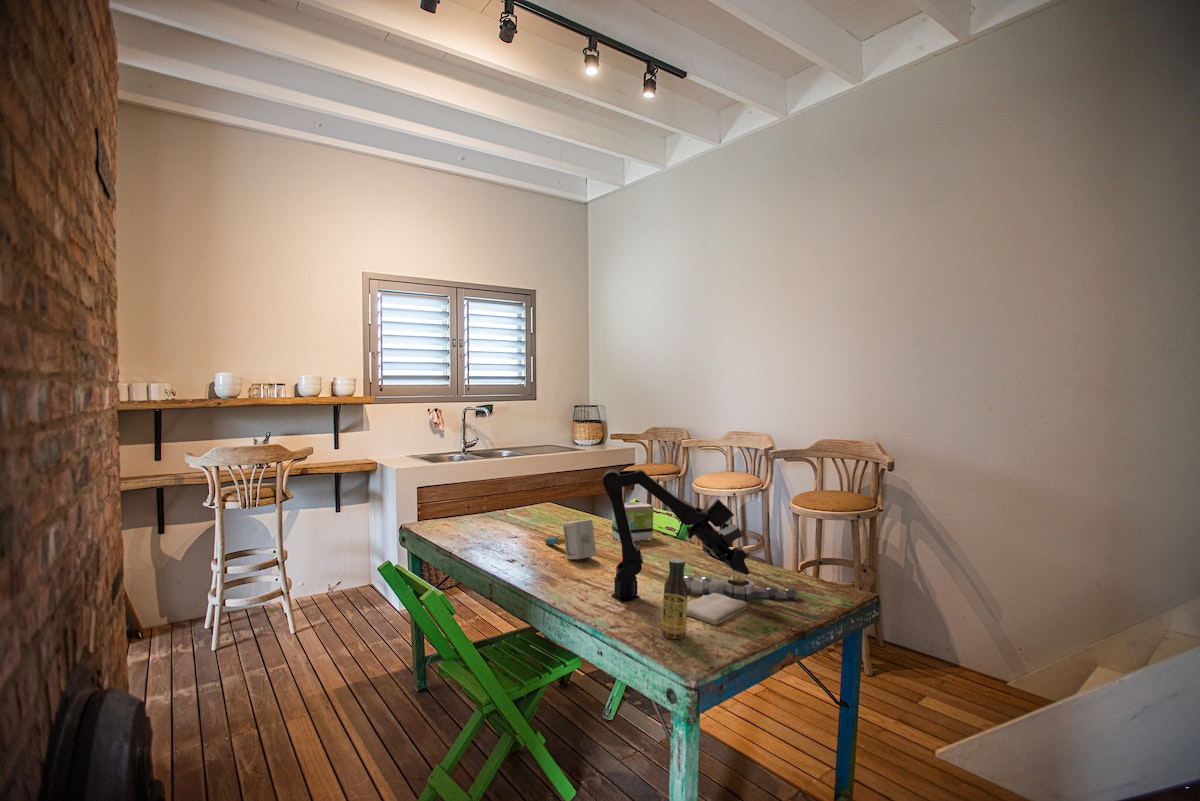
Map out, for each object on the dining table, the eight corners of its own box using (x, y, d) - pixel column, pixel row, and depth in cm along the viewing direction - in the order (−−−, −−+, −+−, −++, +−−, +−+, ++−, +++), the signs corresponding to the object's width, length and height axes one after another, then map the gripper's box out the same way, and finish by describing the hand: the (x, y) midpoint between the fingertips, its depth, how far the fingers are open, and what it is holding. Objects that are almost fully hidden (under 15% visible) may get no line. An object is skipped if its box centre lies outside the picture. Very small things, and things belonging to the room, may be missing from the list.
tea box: (620, 543, 241) (620, 507, 240) (611, 537, 250) (611, 503, 250) (653, 540, 246) (653, 505, 246) (643, 534, 256) (643, 500, 255)
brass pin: (738, 598, 179) (738, 556, 179) (727, 594, 183) (728, 553, 182) (748, 595, 182) (748, 554, 181) (737, 591, 185) (737, 550, 185)
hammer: (540, 559, 236) (579, 559, 212) (536, 525, 238) (574, 521, 214) (558, 556, 241) (598, 555, 217) (554, 523, 243) (593, 519, 219)
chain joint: (681, 596, 181) (681, 580, 181) (682, 586, 190) (682, 571, 190) (799, 604, 175) (799, 588, 174) (794, 593, 184) (794, 578, 184)
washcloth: (748, 609, 172) (749, 599, 172) (716, 628, 159) (716, 616, 158) (713, 599, 180) (713, 589, 180) (680, 616, 167) (680, 605, 166)
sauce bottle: (659, 638, 151) (659, 562, 150) (665, 629, 157) (665, 555, 156) (684, 642, 148) (684, 564, 148) (689, 632, 154) (690, 558, 154)
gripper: (741, 523, 171) (773, 558, 175) (711, 510, 189) (741, 542, 193) (717, 552, 169) (750, 586, 173) (689, 536, 187) (719, 567, 191)
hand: (740, 569), depth 182 cm, fingers open, 9 cm apart
